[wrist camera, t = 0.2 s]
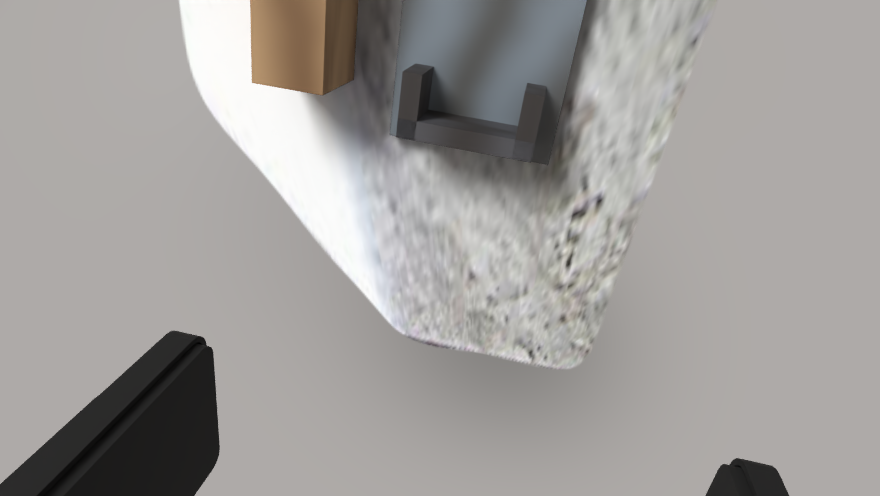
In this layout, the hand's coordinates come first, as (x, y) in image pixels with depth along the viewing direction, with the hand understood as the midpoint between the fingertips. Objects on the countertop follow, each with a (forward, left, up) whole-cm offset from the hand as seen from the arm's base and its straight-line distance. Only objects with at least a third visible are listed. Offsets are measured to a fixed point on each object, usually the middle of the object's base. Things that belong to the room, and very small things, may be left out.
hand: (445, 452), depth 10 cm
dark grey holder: (-7, -3, -31) cm, 32 cm away
